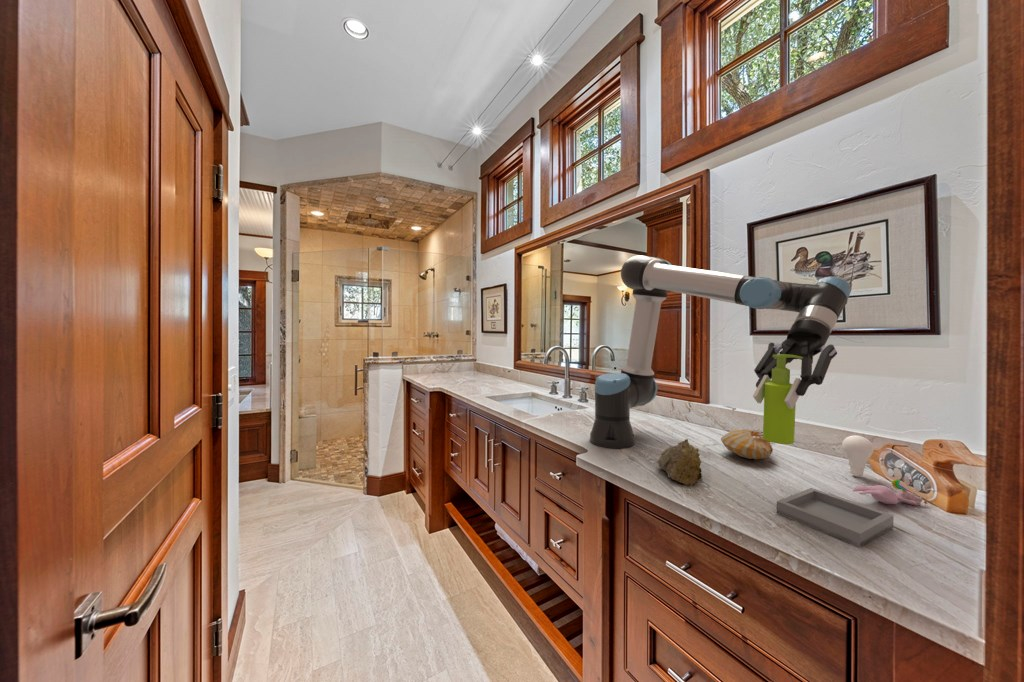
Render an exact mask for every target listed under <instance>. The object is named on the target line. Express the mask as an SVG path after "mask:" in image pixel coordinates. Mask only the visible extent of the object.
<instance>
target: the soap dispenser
mask: <svg viewBox="0 0 1024 682" xmlns="http://www.w3.org/2000/svg"><path fill="white" fill-rule="evenodd" d="M773 357H774V358H777V367H775V368H772V378H771V382H766V383H765V392H764V399H763V401H764V402H763V421H762V423H763V424H762V425H763V426H762V432H763V433H762V435H763V436H762V437H763V439H764V440H766V441H769V442H770V443H772V442H773V443H774V444H780V445H793V444H794V443H795V427H796V425H795V423H796V404H797V403H796V404H795V406H794V408H793V409H790V408H788V406H787V404H786V403H785V401H784V400H785V398H786V396H787V394H788V392H789V390H790V389H791V387H792V385H793V383H791V381H790V378H791V369H789V367H787V366H786V365H787V364H786V358H799V359H798V360H800V359H802V358H803V357H801V356H797V355H791V354H780V353H779V354H776V355H773Z"/></svg>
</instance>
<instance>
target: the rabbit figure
mask: <svg viewBox="0 0 1024 682" xmlns="http://www.w3.org/2000/svg"><path fill="white" fill-rule="evenodd" d="M900 482H901V480H900V479H893V480H892V481H891V485H892V487H893V488H895V489H896V490H898V491H897V493H895V492H894V490H893V489H891V488H889V487H888V486H886V485H882V484H881V485H879V484H878V485H872V486H868V485H867V486H866V485H861V484H859V485H858V484H857V485H855V486H854V487H853V488H852V492H858V495H867V494H870V495H871V497H872V498H873V499H874V500H876V501H878V502H881V503H882V504H886V505H896V504H898V503H905V504H907V505H911V506H914V507H917V506H920V505H921V504H924V506H925V507H926V505H929V503H928V497H926V498H924V496H921V497H919V496H917V495H916V492H914V493H913V492H911V491H908V490H907V489H906V488H905V486H903V485H901V484H900Z"/></svg>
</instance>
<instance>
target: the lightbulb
mask: <svg viewBox="0 0 1024 682" xmlns="http://www.w3.org/2000/svg"><path fill="white" fill-rule="evenodd" d="M841 445H842V446H841V447H842V449H843V451H844V453H845V456H846V457H847V459H848V465H849V467H850V468H849V470H850V471H849V473H850V474H851V475H853V476H854V477H855V478H858V477H862V476H864V470H865V468H866V464H867V461H868V460H869V459H870V458H871V456H873V454H874V450H875V448H874V445H873V443H872V442H871V441H870V440H869V439H867V438H866V437H865V436H861V435H858V434H857V435H856V434H854V435H853V434H852V435H850V436H847V437H845V438H843V440H842V442H841Z"/></svg>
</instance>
